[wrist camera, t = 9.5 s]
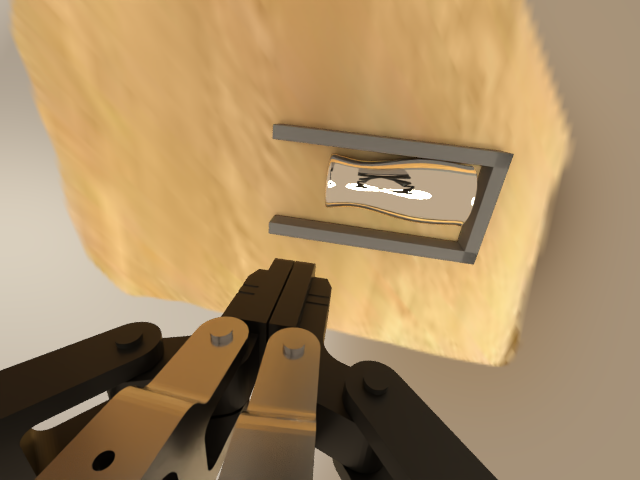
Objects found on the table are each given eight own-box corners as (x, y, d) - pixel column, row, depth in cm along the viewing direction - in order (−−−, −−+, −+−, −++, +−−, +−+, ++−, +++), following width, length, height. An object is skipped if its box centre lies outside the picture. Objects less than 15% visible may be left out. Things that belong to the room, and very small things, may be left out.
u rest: (280, 123, 35) (273, 124, 32) (501, 150, 33) (513, 154, 30) (274, 225, 40) (268, 233, 37) (465, 253, 38) (473, 264, 36)
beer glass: (329, 205, 38) (448, 220, 37) (322, 216, 32) (466, 235, 30) (335, 149, 36) (461, 162, 34) (328, 149, 30) (485, 165, 28)
